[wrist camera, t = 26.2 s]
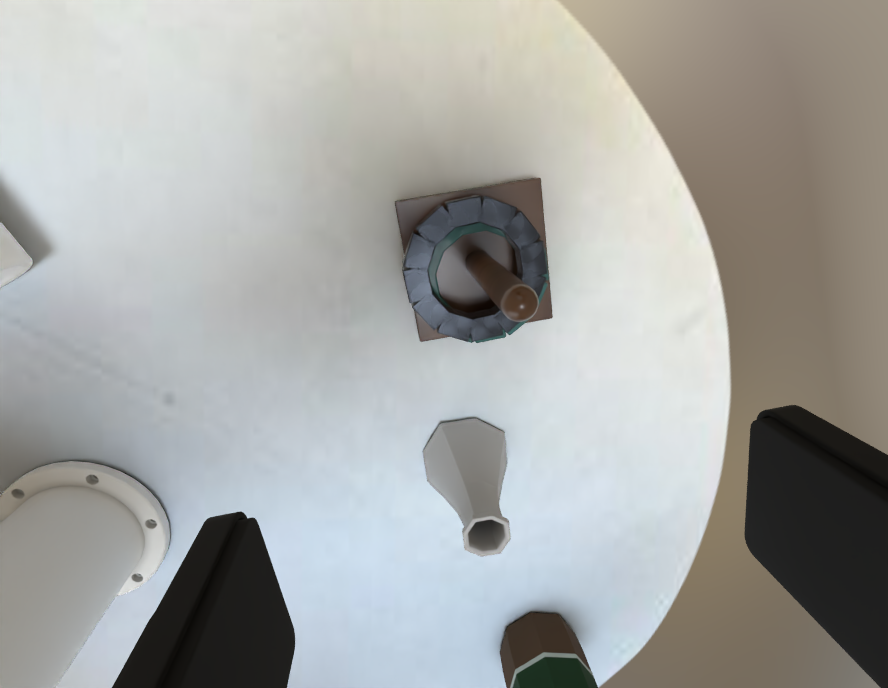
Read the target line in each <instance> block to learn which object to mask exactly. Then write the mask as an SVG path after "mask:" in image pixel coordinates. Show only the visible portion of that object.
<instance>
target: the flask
mask: <svg viewBox="0 0 888 688" xmlns="http://www.w3.org/2000/svg"><path fill="white" fill-rule="evenodd" d="M423 455H424V462H425V468H426V475H427V481H428V482H429V483H430V485H431V486H432V487H433V488H434V489H435V490H436V491H438V492H439V493H440V494H441V495H442V496H443V497H444V498H445V500H446V501H447V502H448V503H449V504H450V505H451V506H452V507H453V509H454V510H455V511H456V512H457V513H458V515H459V517H460V519H461V521H462V523H463V525H464V528H463V531H462V533H463V540H464V548H465V550H466V551H469V552H471V553H474V554H476V555H479V556H481V557H482V556H488V555H494V554H500V553H501V552H502V550H503V549H504V548H505V546H506V545H507V543H508V542H509V541H510V539H511V538H510V527H509V521H508V519H506V518H504V517H502V514H501V511H500V508H499V500H500V494H501V489H502V483H503V479H504V475H505V471H506V466H507V454H506V443H505V432H503V431H501V430H498V429H496V428H494V427H492V426H490V425H488V424H486V423H484V422H482V421H480V420H478V419H476V418H473V419H467V420H460V421H454V422H447V423H441V424H440V425H439V426H438V428H437V430H436V431H435V433H434V435H433V436H432V438H431V439H430V441H429V443H428V444H427V446H426V447H425V449H424V451H423Z"/></svg>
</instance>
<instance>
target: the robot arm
mask: <svg viewBox="0 0 888 688" xmlns="http://www.w3.org/2000/svg"><path fill="white" fill-rule="evenodd" d="M747 483H748V484H747V500H746V518H745V540H746V544H747V546H748V548H749V550H750V552H751V553H752V554H753V555H754V557H755V558H756V559H757V560H758V561H759V562H760V563H761V564H762V565H763V566H764V567H765V568H766V569H767V570H768V571H769V572H770V573H771V574H772V575H773V577H774V578H776V580H777V581H778V582H779V583H780V584H781V585H782V586H783V587H784V588H785V589H786V590H787V591H788V592H789V593H790V594H791V595H792V596H793V597H794V598H795V599H796V600H797V601H798V602H799V603H800V604H801V605H802V607H804V609H805V610H806V611H807V612H808V613H809V614H810V615H811V616H812V617H813V618H814V619H815V620H816V621H817V622H818V623H819V624H820V625H821V626H822V627H823V628H824V629H825V630H826V631H827V633H828V634H829V635H830V636H831V637H832V638H833V639H834V640H835V641H836V642H837V643H838V644H839V645H840V646H841V647H842V648H843V649H844V650H845V651H846V652H847V653H848V654H849V655H850V656H851V657H852V658H853V659H854V660H855V662H857V664H858V665H859V666H860V667H861V668H862V669H863V670H864V671H865V672H866V673H867V674H868V675H869V676H870V677H871V678H872V679H873V680H874V681H875V682H876V683H877V684H878V685H879V686H880V687H881V688H888V455H887V454H885V453H883V452H881V451H879V450H878V449H876V448H874V447H872V446H870V445H868V444H867V443H865V442H863V441H861V440H859V439H858V438H856V437H854V436H852V435H850V434H849V433H847V432H845V431H843V430H841V429H840V428H838V427H836V426H834V425H832V424H831V423H829V422H827V421H825V420H823V419H822V418H819V417H818V416H816V415H814V414H812V413H811V412H809V411H807V410H805V409H803V408H802V407H799V406H796V405H789V406H784V407H779V408H774V409H769V410H764V411H762V412H760V413H759V415H758V417H757V420H755V421H753V423H752V424H751V429H750V446H749V464H748V482H747ZM169 542H170V529H169V523H168V520H167V517H166V514H165V511H164V510H163V508H162V506H161V505H160V503H159V502H158V500H157V499H156V498H155V497H154V496H153V494H152V493H151V492H150V491H149V490H148V489H147V488H146V487H144V486H143V485H142V484H141V483H139V482H138V481H137V480H135V479H134V478H132V477H130V476H128V475H126V474H125V473H123V472H121V471H118V470H115V469H113V468H110V467H107V466H104V465H99V464H95V463H90V462H76V461H69V462H59V463H52V464H49V465H45V466H42V467H39V468H37V469H34V470H32V471H30V472H28V473H26V474H25V475H24V476H22V477H21V478H20V479H18V480H17V481H16V482H14V483H13V484H12V485H11V486H10V487H9V488H8V489H7V490H6V491H5V492H4V493H3V494H2V495H1V497H0V688H55V687H56V686H57V684H58V683H59V681H60V680H61V678H62V677H63V675H64V674H65V672H66V671H67V669H68V668H69V666H70V665H71V663H72V662H73V660H74V659H75V657H76V656H77V654H78V653H79V651H80V650H81V648H82V647H83V645H84V644H85V642H86V641H87V639H88V638H89V636H90V635H91V633H92V632H93V630H94V629H95V627H96V626H97V624H98V623H99V621H100V620H101V618H102V617H103V615H104V614H105V612H106V611H107V609H108V608H109V606H110V605H111V603H112V602H113V600H114V599H115V597H116V596H120V595H123V594H126V593H128V592H130V591H132V590H135V589H137V588H138V587H140V586H141V585H142V584H144V583H145V582H147V581H148V580H149V579H150V578H151V577H152V576H153V575H154V573H155V572H156V571H157V570H158V568H159V566H160V565H161V563H162V562H163V560H164V558H165V556H166V553H167V551H168V548H169ZM294 649H295V633H294V628H293V624H292V622H291V619H290V616H289V613H288V610H287V607H286V604H285V601H284V598H283V595H282V592H281V589H280V586H279V583H278V581H277V578H276V575H275V572H274V569H273V566H272V563H271V560H270V557H269V554H268V551H267V548H266V545H265V542H264V539H263V537H262V534H261V531H260V528H259V525H258V522H257V520H256V519H255V518H248V519H247V517H246V515H245V514H244V513H243V512H236V513H231V514H225V515H220V516H215V517H210V518H208V519H207V520H206V521H205V522H204V524H203V526H202V528H201V530H200V531H199V533H198V535H197V537H196V539H195V540H194V542H193V544H192V546H191V548H190V550H189V551H188V553H187V555H186V557H185V559H184V560H183V562H182V564H181V566H180V568H179V570H178V571H177V573H176V575H175V577H174V579H173V580H172V582H171V584H170V586H169V588H168V590H167V591H166V593H165V595H164V597H163V599H162V600H161V602H160V604H159V606H158V608H157V610H156V611H155V613H154V614H153V616H152V617H151V618H150V620H149V622H148V624H147V625H146V627H145V629H144V631H143V633H142V634H141V636H140V638H139V640H138V642H137V643H136V645H135V647H134V649H133V651H132V652H131V654H130V656H129V658H128V660H127V662H126V663H125V665H124V667H123V669H122V671H121V672H120V674H119V676H118V678H117V680H116V681H115V683H114V685H113V687H112V688H287V684H288V679H289V674H290V669H291V665H292V660H293V655H294Z"/></svg>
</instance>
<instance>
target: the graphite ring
mask: <svg viewBox="0 0 888 688" xmlns="http://www.w3.org/2000/svg"><path fill="white" fill-rule="evenodd" d="M444 207H445V208H444ZM476 223H483V224H486V225H489V226H491V227H494V228H497V229H500V230H501V231H502V233H503V234H504V235H505V236H506V238H507V239H508V240H509V241H510V243H511V244H512V245H513V246H514V249H515V256H516V263H517V270H518V271H517V274H516V276H517V277H518V278H519V279H521V280H522V281H523V282H524V283H526V284H527V285H528V286H530V287H531V288H532V289H533V290H534V291H535V292H536V294H537V296H538V299H539V296H540V294H541V291H542V289H543V286H544V284H545V281H546V279H547V278H546V277H545V276H543V275H544V274H547V266H546V258H545V250H544V242H543V240H540V238H541V235H540V234H539V233H538V231H537V230H536V229H535V228H534V226H533V225H532V224H531V222H530V221H529V220H528V219H527V217H526V216H525V215H524V213H523V212H522V211H521V210H517V207H515V206H512V205H509V204H506V203H504V202H501V201H498V200H495V199H493V198H490V197H487V196H482V195H481V196H478V195H474V196H469V197H464V198H459V199H455V200H450V201H445V202H444V206H443V205H441V204H439V205H438V206H437V207H436V208H435V209H433V210H432V211H431V212H430V213H429V214H428V215H427V216H426V217H425V218H424V219H423V220H421V221H420V222H419V223H418V224H417V225H416V226H415V229H416V230H417V232H415V231H412V233H411V236H410V239H409V242H408V245H407V249H406V252H405V255H404V258H403V261H402V263H403V267H402V271H403V276H404V280H405V284H406V289H407V293H408V298H409V302H410V303H412V308H413V309H414V310H415V311H416V312H417V313H418V314H419V315H420V316H421V317H422V318H423V320H424V321H425V322H426V323H427V324H428V325H429V326H430V327H431V328H432V329H433V330H435V329H437V332H438V333H440V334H443V335H447V336H450V337H453V338H457V339H460V340H463V341H467V342H468V341H469V338H470V339H471V341H472V342H474V341H478V340H483V339H488V338H492V337H497V336H501V335H503V329H504V331H505V332H506V333H508V332H509V331H510V330H512V329H513V328H514V327H515V326H516V325H517V324H519V323H520V322H516V321H512V320H510V319H508V318H507V317H506V316H505V315H504V314H503V312H502V311H501V310H500V309H499V308H498V307H497V305H494V306H493V307H492V308H490V309H485V310H481V311H476V312H472V313H467V312H464V311H460V310H457V309H454V308H451V307H448V306H446V305H445V304H444V303H443V302H442V300H441V299H440V298H439V297H438V296H437V295H436V294H435V293H434V292H433V291H432V287H431V282H430V277H429V272H428V268H429V265H430V262H431V259H432V256H433V253H434V250H435V247H436V245H437V244H438V243H439V242H440V241H441V240H443V239H444V238H445V237H446V236H447V235H448V234H449V233H450V232H451V231H453V230H454V229H455V228H457V227H462V226H467V225H471V224H476ZM502 328H503V329H502Z"/></svg>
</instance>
